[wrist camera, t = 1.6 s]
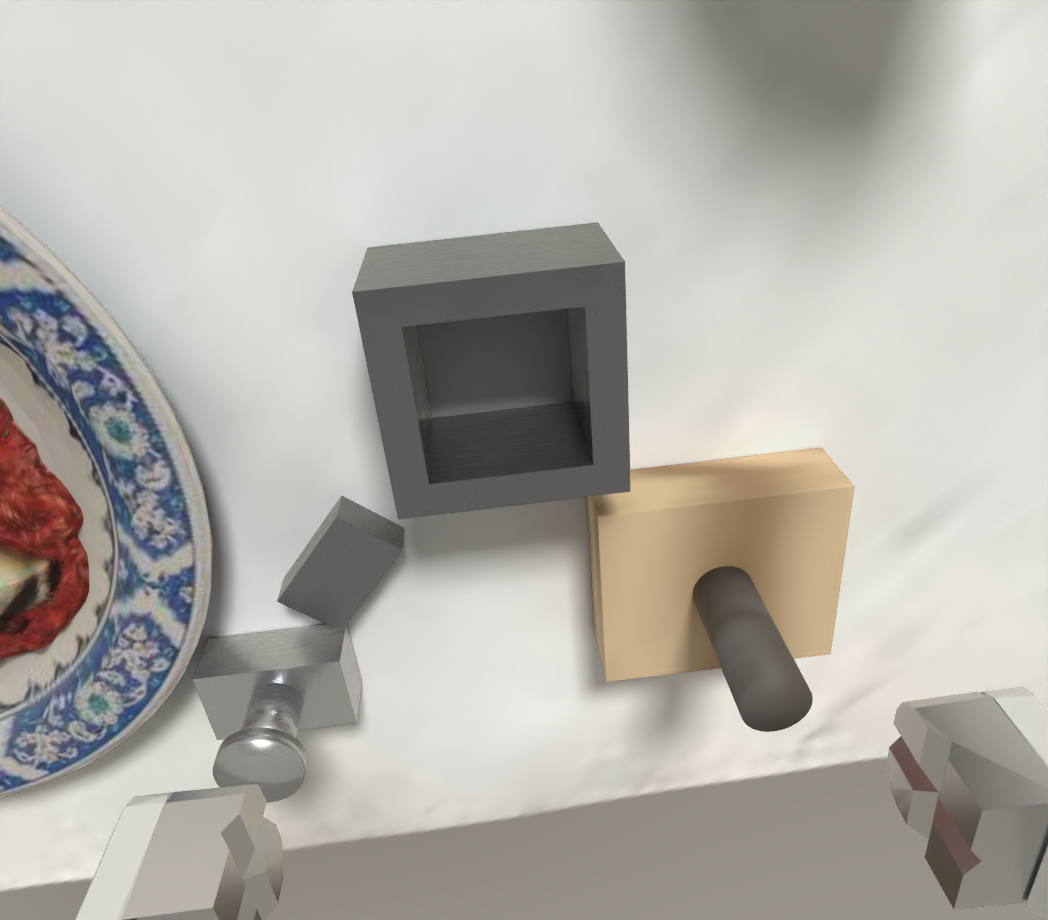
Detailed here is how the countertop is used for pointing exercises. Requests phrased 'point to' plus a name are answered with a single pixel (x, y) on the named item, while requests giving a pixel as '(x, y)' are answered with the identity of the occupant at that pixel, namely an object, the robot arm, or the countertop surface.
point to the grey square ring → (507, 435)
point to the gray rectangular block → (341, 563)
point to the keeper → (723, 574)
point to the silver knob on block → (275, 701)
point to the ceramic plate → (86, 526)
